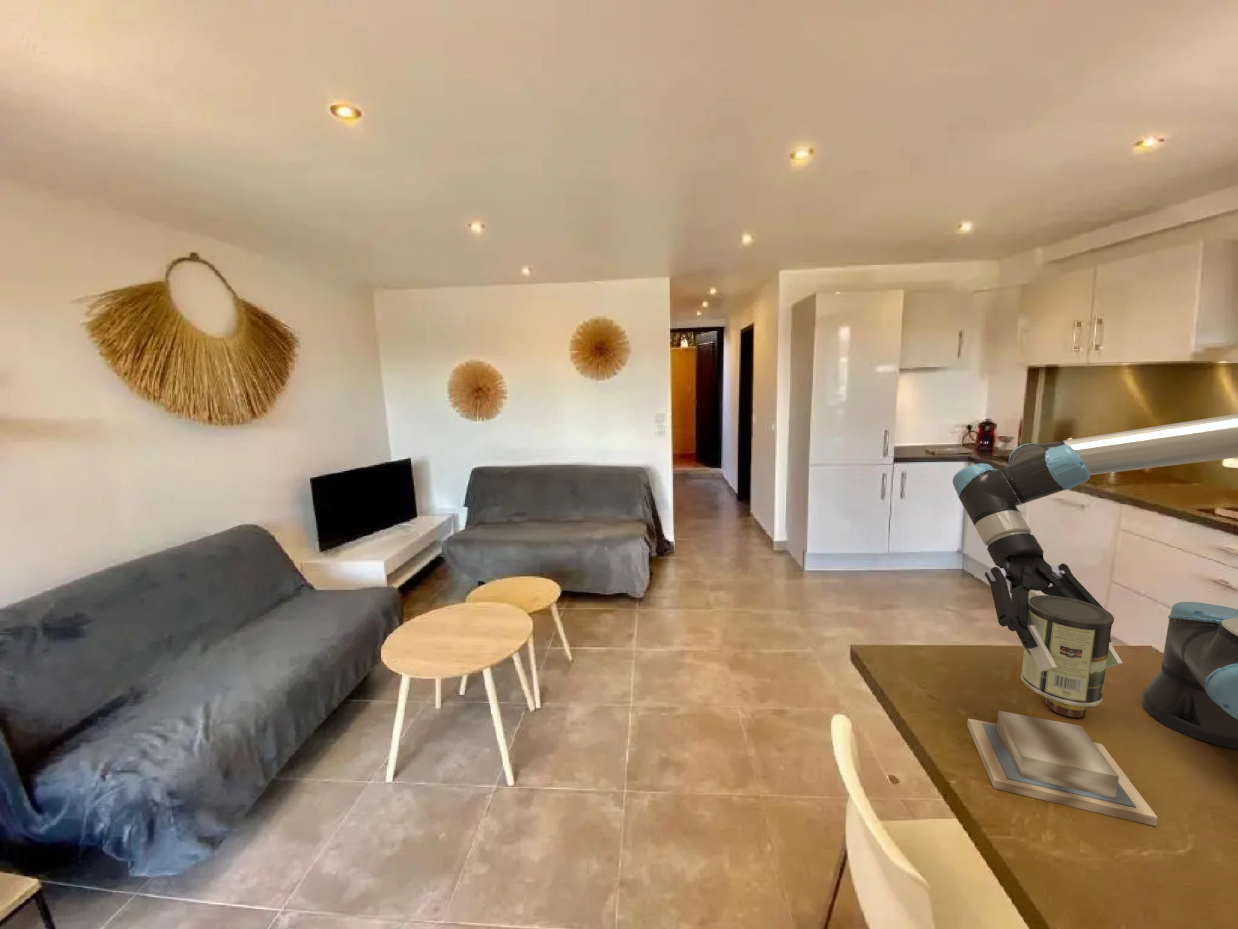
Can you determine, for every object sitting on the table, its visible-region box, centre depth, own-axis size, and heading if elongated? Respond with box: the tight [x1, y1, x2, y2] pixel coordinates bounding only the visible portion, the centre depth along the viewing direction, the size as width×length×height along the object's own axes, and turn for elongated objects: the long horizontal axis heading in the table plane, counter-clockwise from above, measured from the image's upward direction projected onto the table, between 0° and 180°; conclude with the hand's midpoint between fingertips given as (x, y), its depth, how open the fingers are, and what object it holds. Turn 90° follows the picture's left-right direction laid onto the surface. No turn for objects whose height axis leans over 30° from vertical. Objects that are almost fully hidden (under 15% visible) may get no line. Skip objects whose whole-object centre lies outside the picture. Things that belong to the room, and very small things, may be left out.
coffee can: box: [1020, 594, 1115, 708], centre depth 81 cm, size 10×10×14 cm
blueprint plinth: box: [967, 710, 1159, 827], centre depth 84 cm, size 20×16×6 cm
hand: (1081, 667), depth 78 cm, fingers closed on coffee can, 10 cm apart
